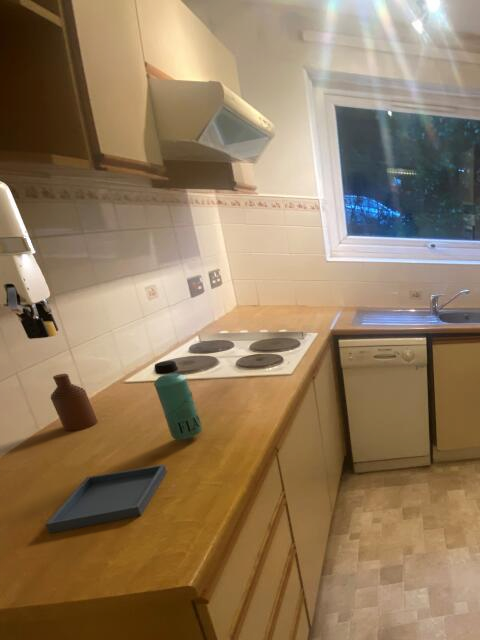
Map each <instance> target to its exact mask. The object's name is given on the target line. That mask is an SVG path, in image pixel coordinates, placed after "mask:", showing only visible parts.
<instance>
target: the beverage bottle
mask: <svg viewBox="0 0 480 640" xmlns="http://www.w3.org/2000/svg"><path fill="white" fill-rule="evenodd" d="M154 369H155V370H154V371H155V373H156V374H157V375H160V376H159V377H158V378H156V380H155V381H154V382H153V385H154V388H155V391H156V393H157V396H158V399H159V402H160V405H161V408H162V411H163V415H164V417H165V420H166V421H165V422H166V424H167V427H168V430H169V432H170V435H171V437H172V439H174V440H185V439H186V440H187V439H190V438H193V437H196V436H198V435H200V434H201V432H202V430H203V426H202V422H201V420H200V416H199V413H198V408H197V407H196V405H195V404H196V403H195V401H194V397H193V393H192V390H191V387H190V385H189V383H188V378H187V377H186V376H185V375H183V374H180V373H178V372H177V371H179V367H178V365H177V363H176V361H174V360H164V361H159V362H157V363H155V364H154ZM174 372H177V373H174Z"/></svg>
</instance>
